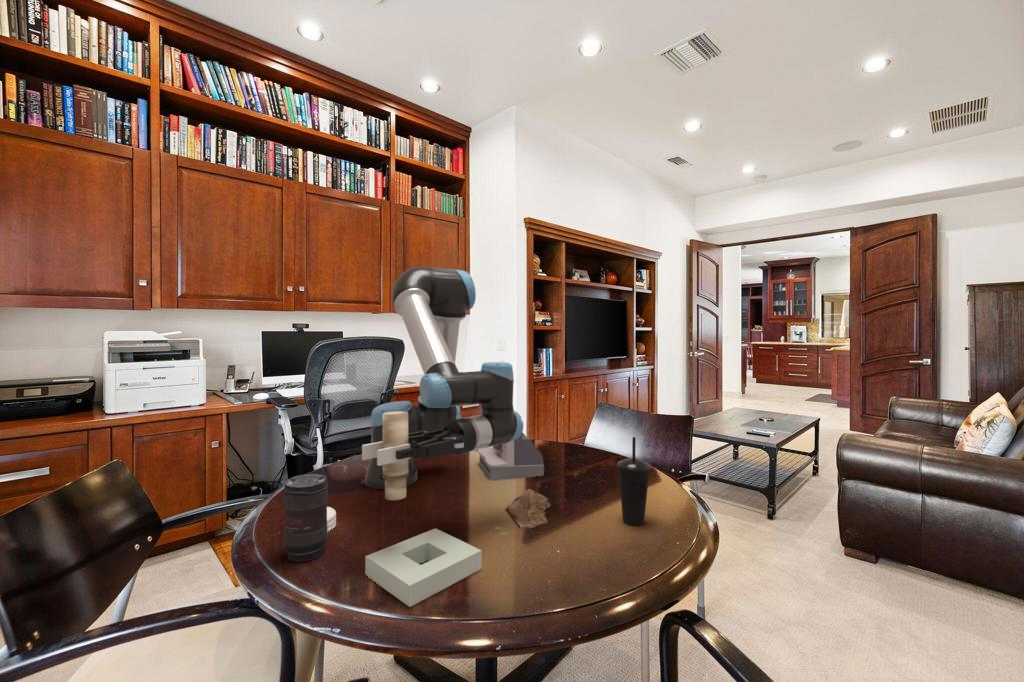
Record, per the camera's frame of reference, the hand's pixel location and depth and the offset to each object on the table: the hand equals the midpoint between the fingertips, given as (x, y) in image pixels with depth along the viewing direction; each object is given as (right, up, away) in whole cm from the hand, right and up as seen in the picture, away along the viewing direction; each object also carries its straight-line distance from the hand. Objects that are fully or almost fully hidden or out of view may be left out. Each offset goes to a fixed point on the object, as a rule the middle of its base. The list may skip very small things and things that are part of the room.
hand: (370, 455), depth 81 cm
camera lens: (-15, -22, +8) cm, 28 cm away
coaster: (-19, -22, +20) cm, 35 cm away
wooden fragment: (+30, -22, +32) cm, 49 cm away
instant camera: (+26, -22, +64) cm, 72 cm away
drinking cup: (+55, -22, +23) cm, 63 cm away
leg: (+4, -9, +4) cm, 10 cm away
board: (+10, -22, +1) cm, 24 cm away
